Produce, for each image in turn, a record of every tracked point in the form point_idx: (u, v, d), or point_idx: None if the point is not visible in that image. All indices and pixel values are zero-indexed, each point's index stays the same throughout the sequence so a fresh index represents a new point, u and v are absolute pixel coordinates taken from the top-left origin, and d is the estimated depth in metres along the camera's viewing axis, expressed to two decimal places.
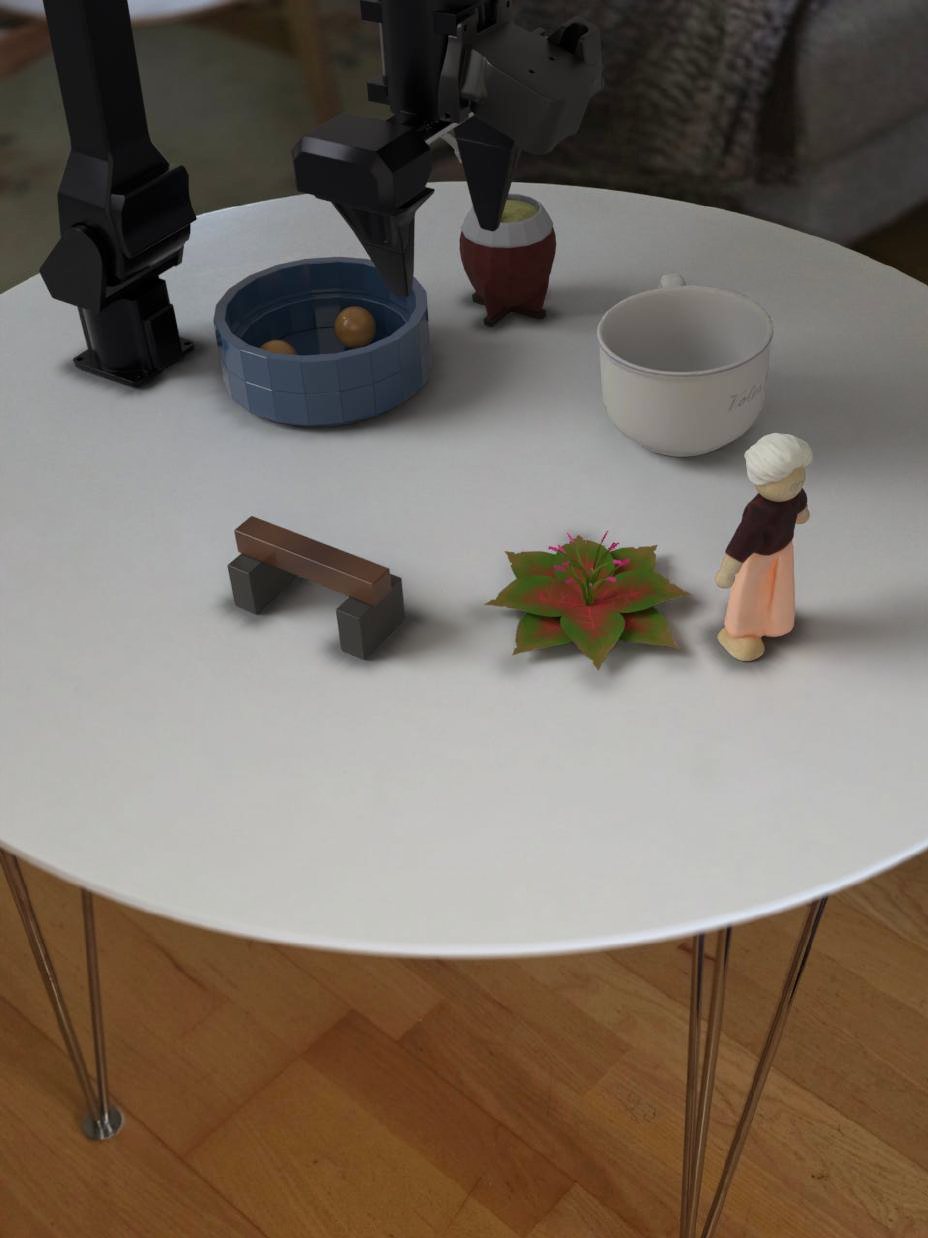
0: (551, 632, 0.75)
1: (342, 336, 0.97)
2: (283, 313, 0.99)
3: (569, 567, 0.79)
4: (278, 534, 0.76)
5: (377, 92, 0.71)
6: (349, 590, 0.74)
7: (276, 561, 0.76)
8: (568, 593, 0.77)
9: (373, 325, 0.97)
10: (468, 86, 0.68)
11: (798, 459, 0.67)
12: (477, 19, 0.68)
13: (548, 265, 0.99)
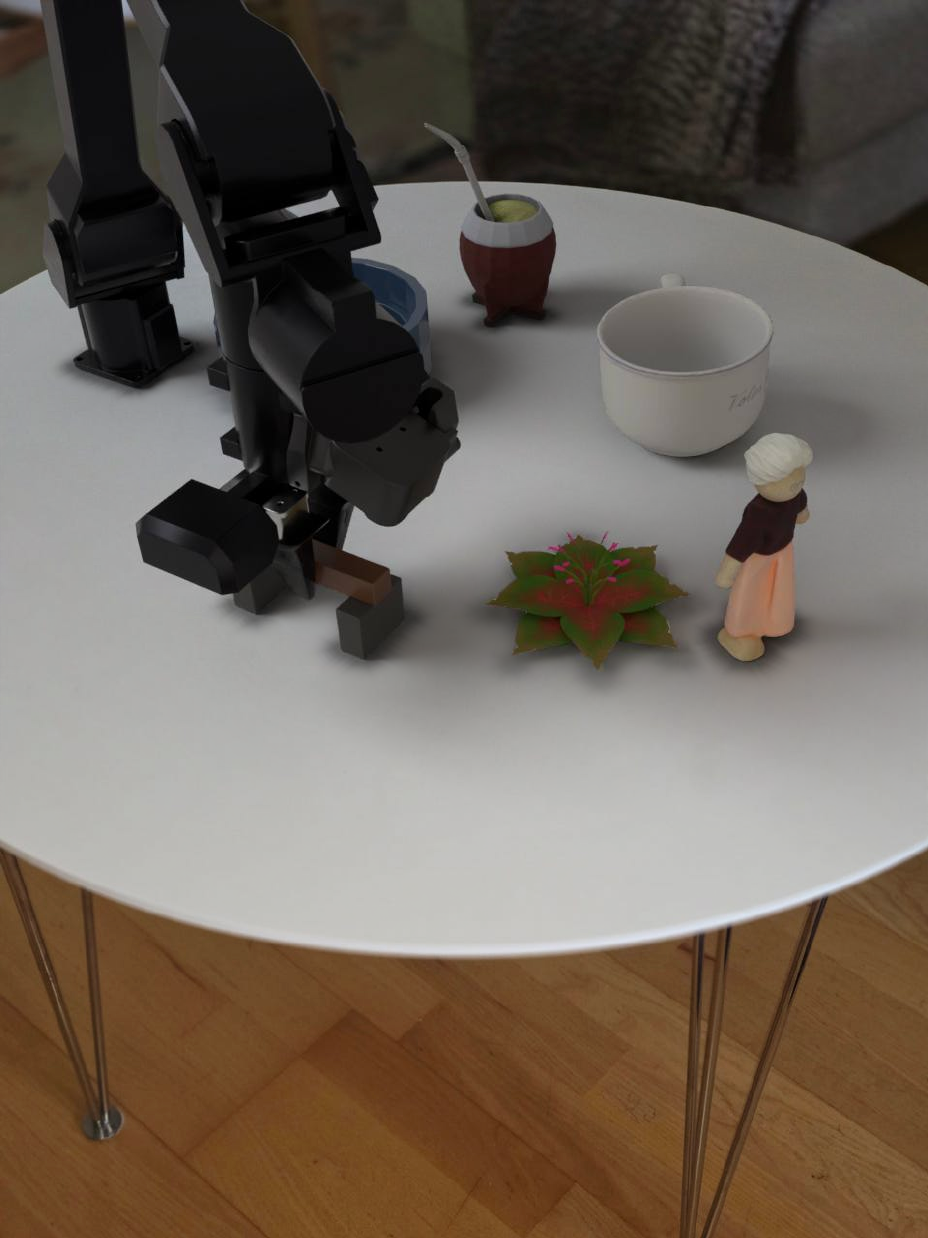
0: (551, 632, 0.75)
1: None
2: None
3: (569, 567, 0.79)
4: None
5: (230, 448, 0.70)
6: (349, 590, 0.74)
7: None
8: (568, 593, 0.77)
9: None
10: (315, 462, 0.66)
11: (798, 459, 0.67)
12: None
13: (548, 265, 0.99)
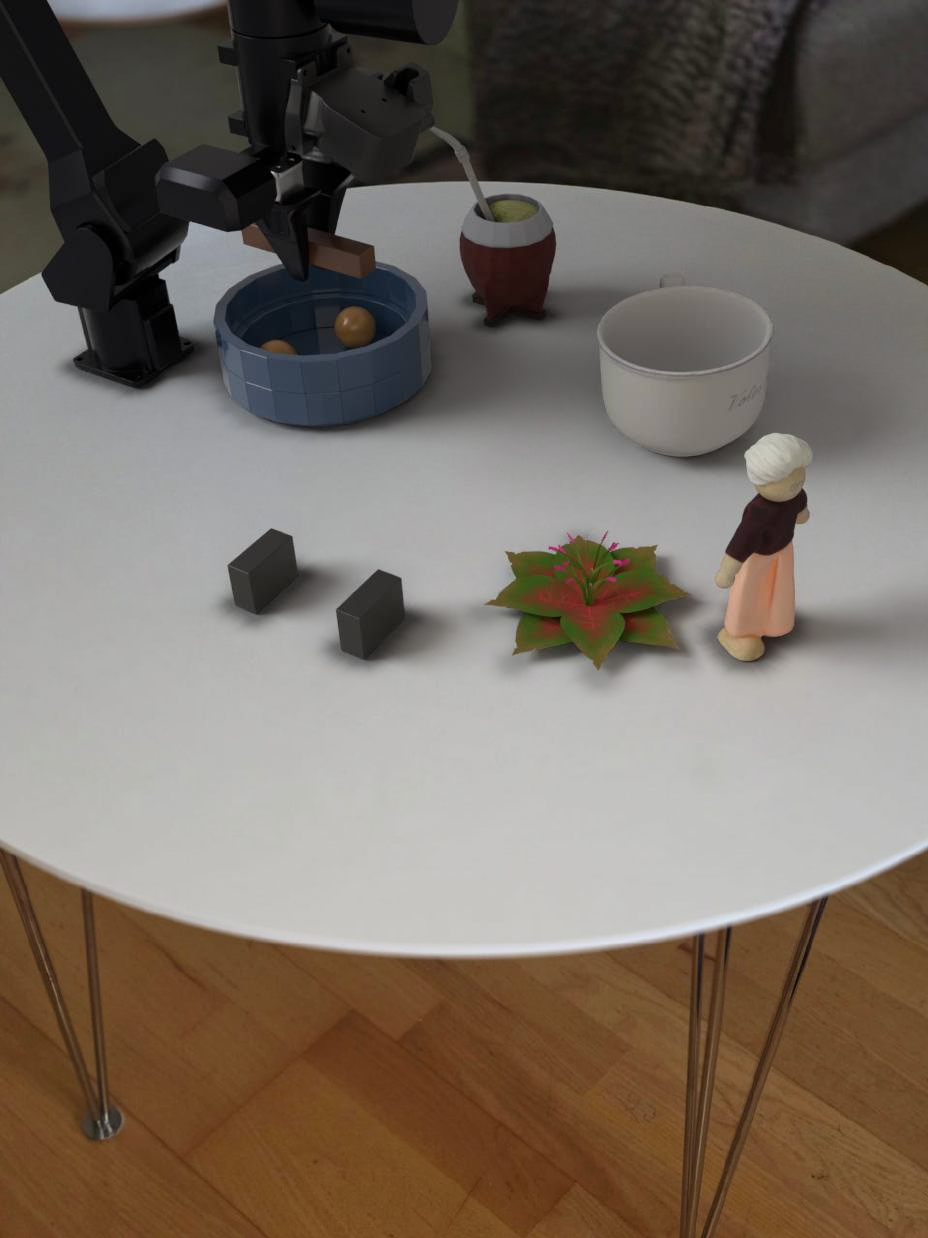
0: (551, 632, 0.75)
1: (342, 336, 0.97)
2: (283, 313, 0.99)
3: (569, 567, 0.79)
4: None
5: (237, 125, 0.81)
6: (339, 265, 0.85)
7: None
8: (568, 593, 0.77)
9: (373, 325, 0.97)
10: (308, 123, 0.77)
11: (798, 459, 0.67)
12: (318, 64, 0.77)
13: (548, 265, 0.99)
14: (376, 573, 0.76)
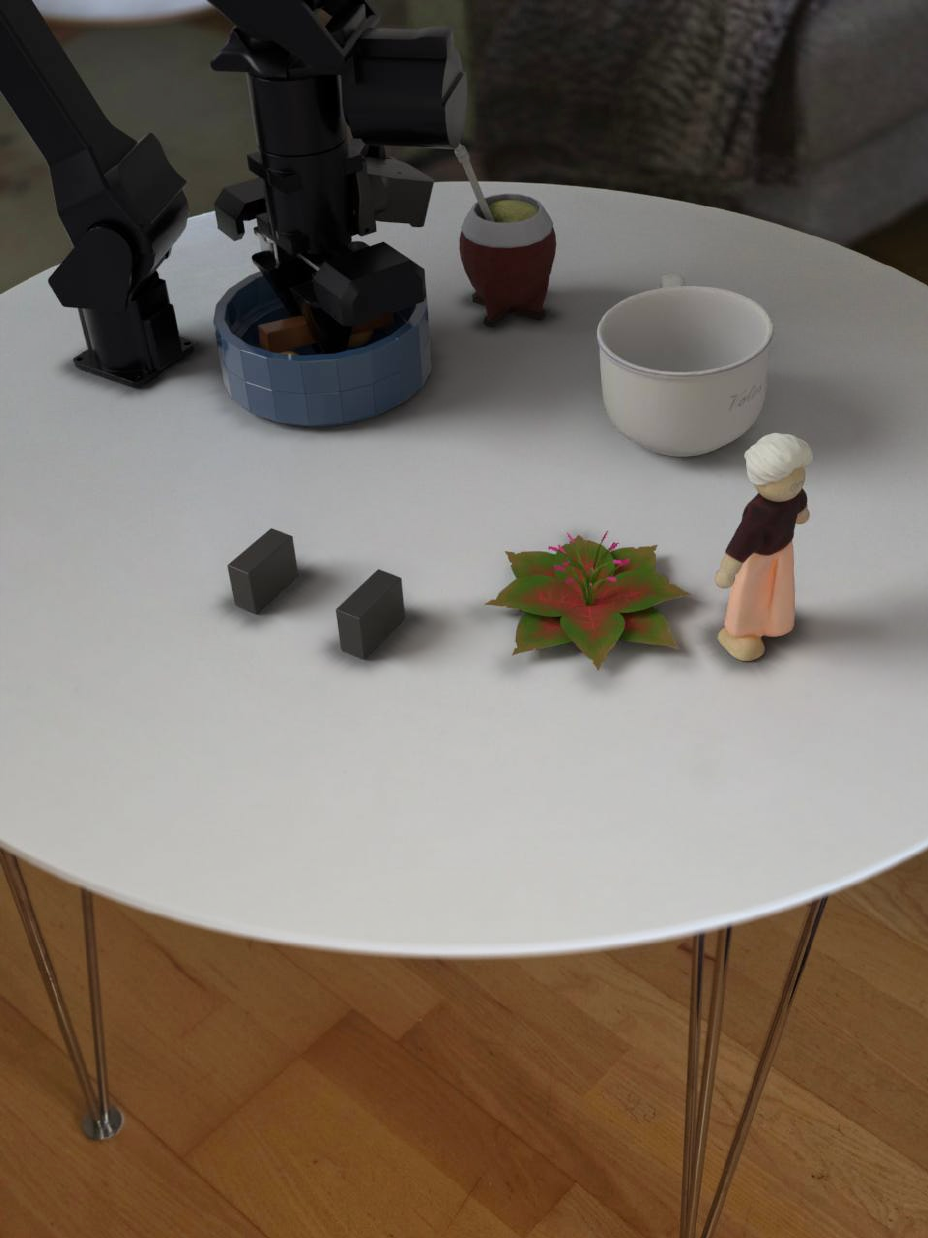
0: (551, 632, 0.75)
1: None
2: (283, 313, 0.99)
3: (569, 567, 0.79)
4: (295, 320, 0.93)
5: (300, 244, 0.87)
6: (373, 323, 0.95)
7: (307, 338, 0.94)
8: (568, 593, 0.77)
9: None
10: (378, 201, 0.88)
11: (798, 459, 0.67)
12: None
13: (548, 265, 0.99)
14: (376, 573, 0.76)
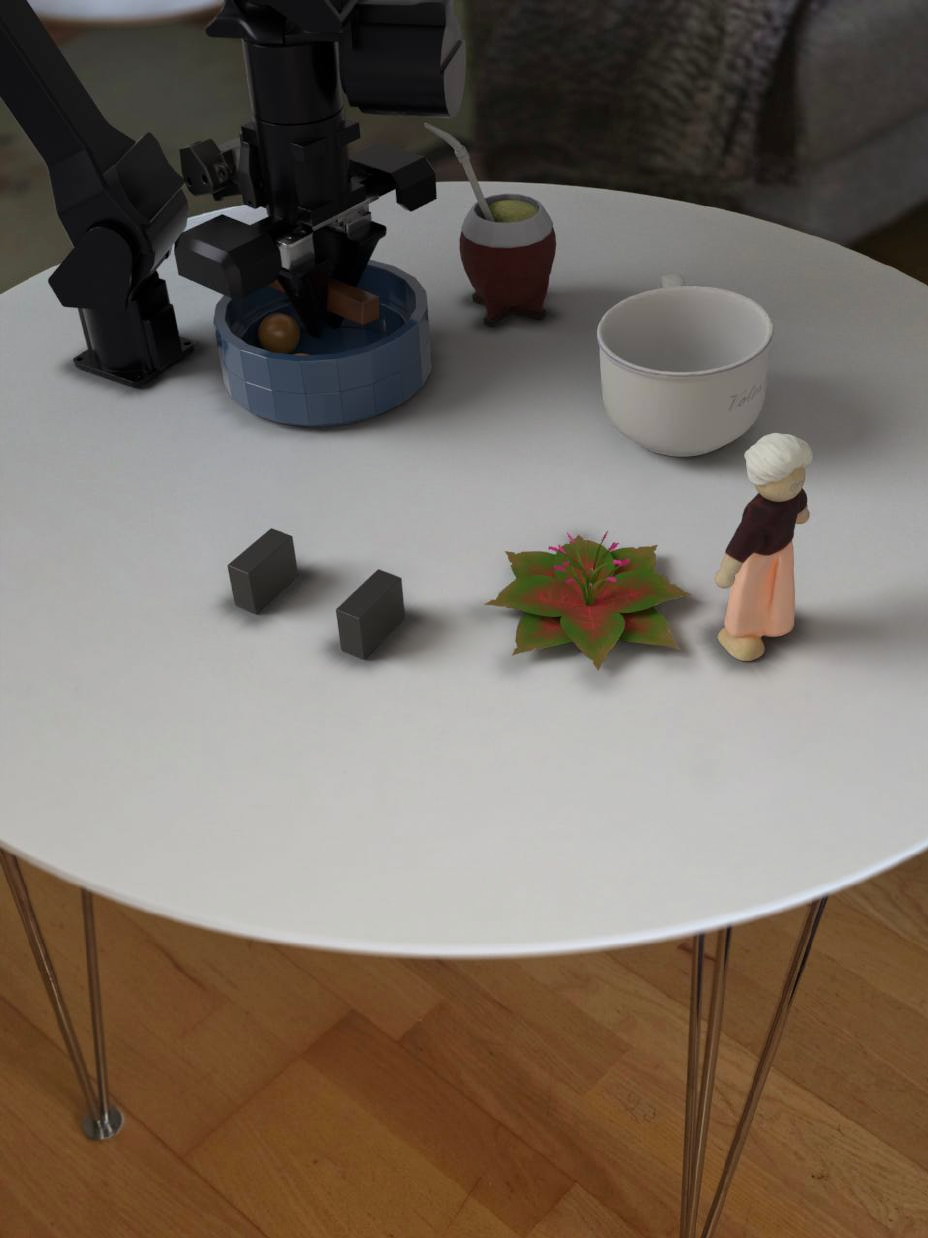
0: (551, 632, 0.75)
1: (297, 342, 0.98)
2: (283, 313, 0.99)
3: (569, 567, 0.79)
4: (343, 289, 0.91)
5: None
6: None
7: None
8: (568, 593, 0.77)
9: None
10: None
11: (798, 459, 0.67)
12: None
13: (548, 265, 0.99)
14: (376, 573, 0.76)
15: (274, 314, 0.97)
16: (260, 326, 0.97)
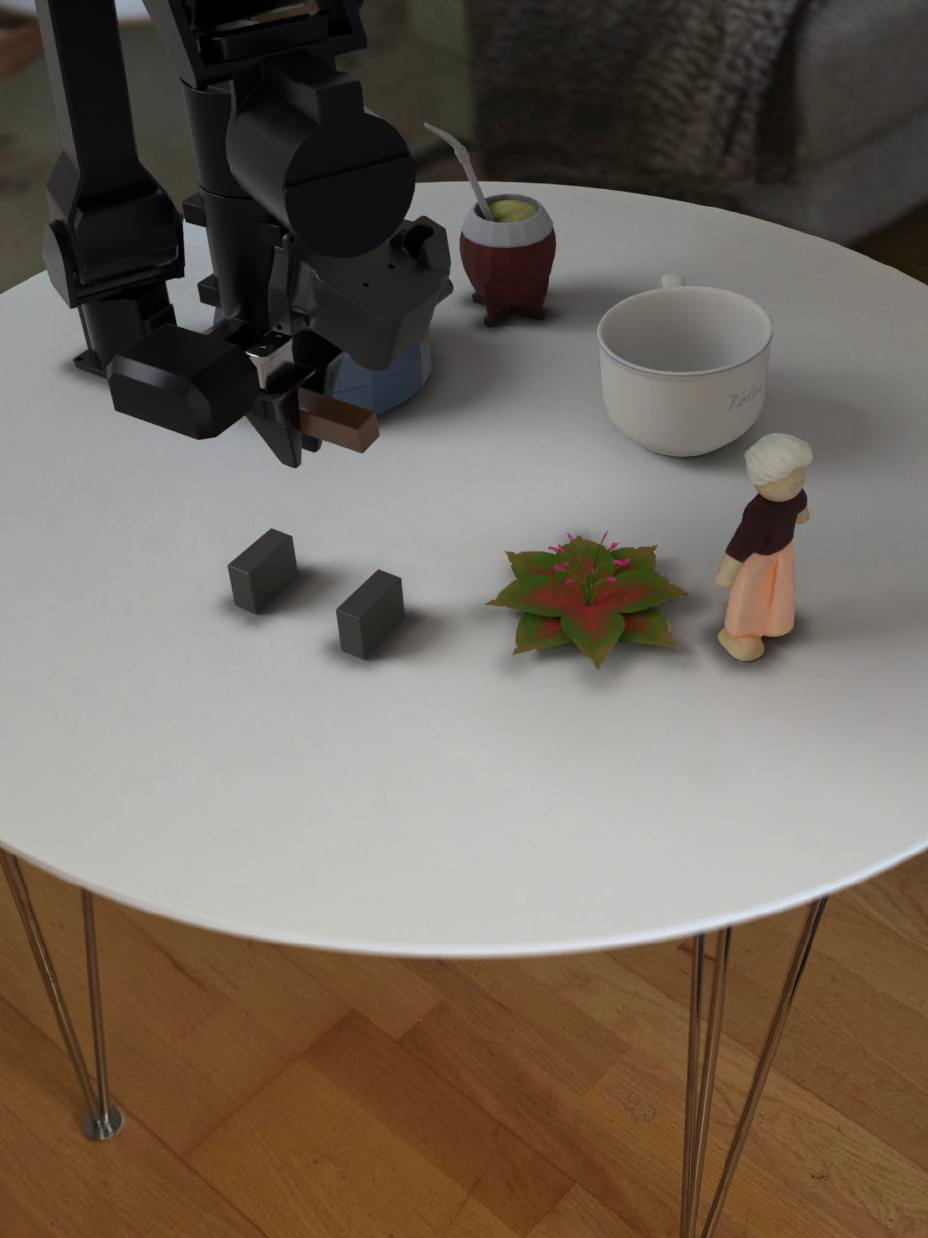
0: (551, 632, 0.75)
1: None
2: None
3: (569, 567, 0.79)
4: None
5: (208, 295, 0.65)
6: (334, 437, 0.69)
7: None
8: (568, 593, 0.77)
9: None
10: (297, 300, 0.62)
11: (798, 459, 0.67)
12: None
13: (548, 265, 0.99)
14: (376, 573, 0.76)
15: None
16: None
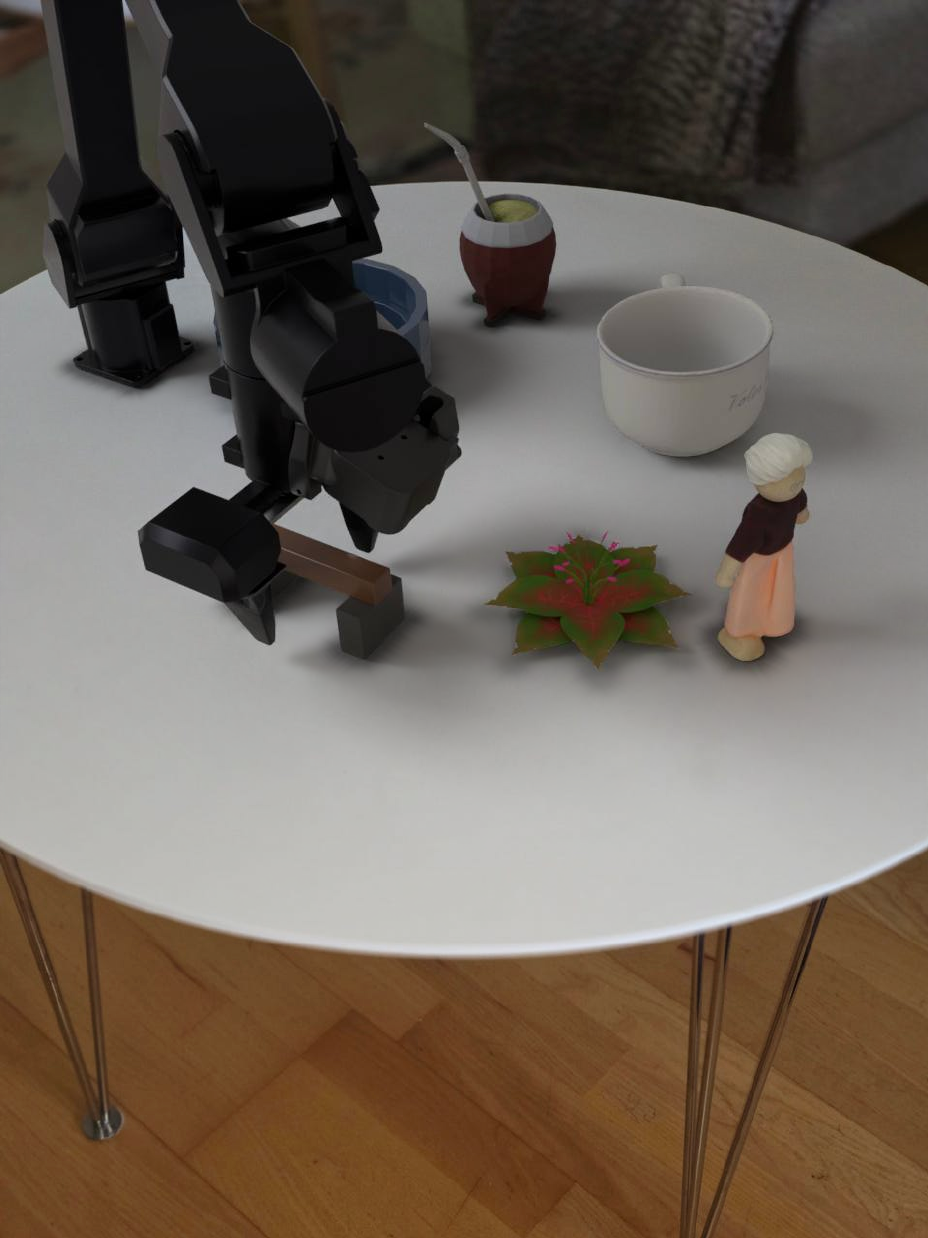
0: (551, 632, 0.75)
1: None
2: None
3: (569, 567, 0.79)
4: None
5: (232, 456, 0.70)
6: (350, 590, 0.74)
7: None
8: (568, 593, 0.77)
9: None
10: (316, 470, 0.66)
11: (798, 459, 0.67)
12: None
13: (548, 265, 0.99)
14: None
15: None
16: None
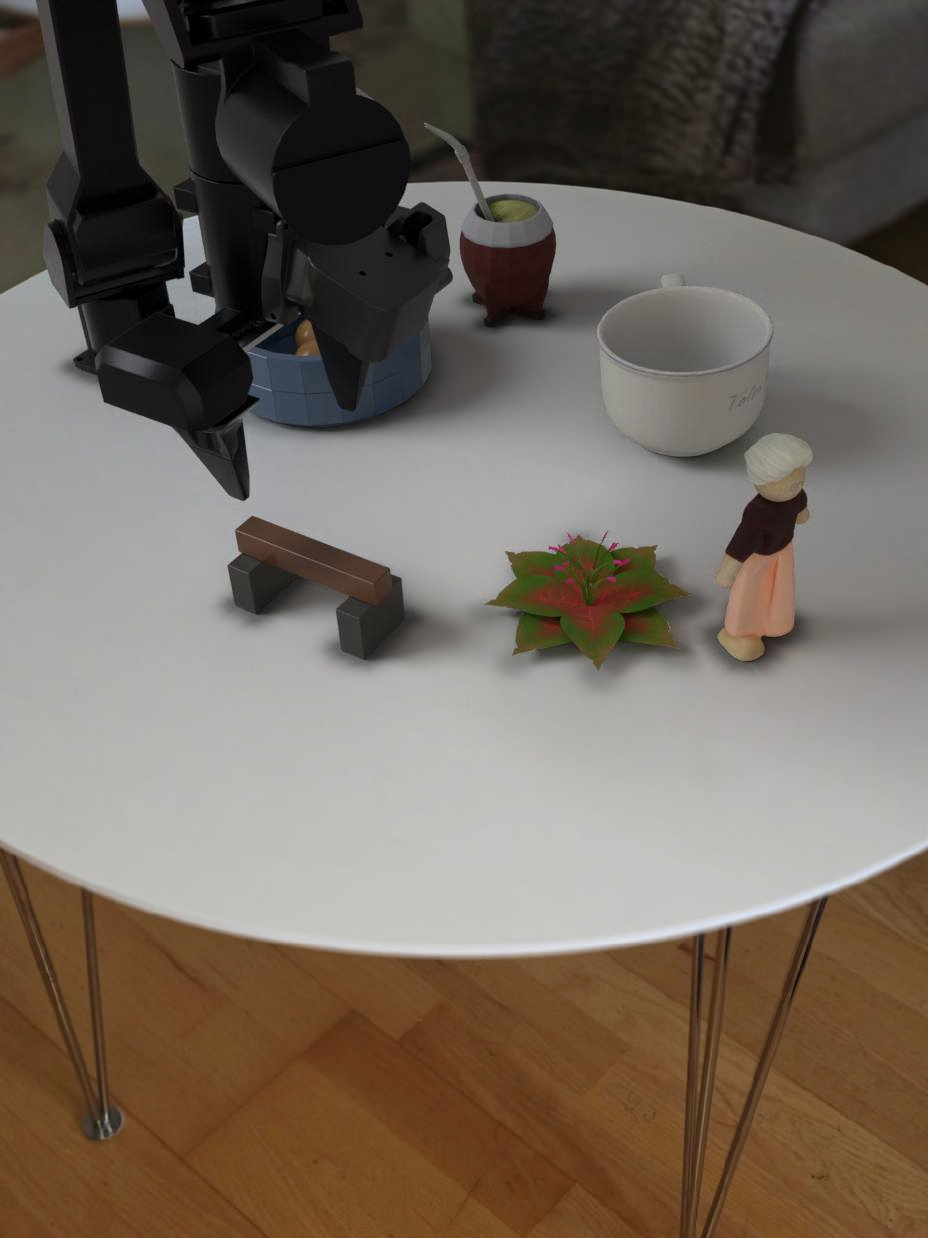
0: (551, 632, 0.75)
1: None
2: None
3: (569, 567, 0.79)
4: (278, 534, 0.76)
5: (200, 283, 0.63)
6: (350, 590, 0.74)
7: (277, 561, 0.76)
8: (568, 593, 0.77)
9: None
10: (292, 288, 0.60)
11: (798, 459, 0.67)
12: None
13: (548, 265, 0.99)
14: None
15: None
16: None
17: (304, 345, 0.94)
